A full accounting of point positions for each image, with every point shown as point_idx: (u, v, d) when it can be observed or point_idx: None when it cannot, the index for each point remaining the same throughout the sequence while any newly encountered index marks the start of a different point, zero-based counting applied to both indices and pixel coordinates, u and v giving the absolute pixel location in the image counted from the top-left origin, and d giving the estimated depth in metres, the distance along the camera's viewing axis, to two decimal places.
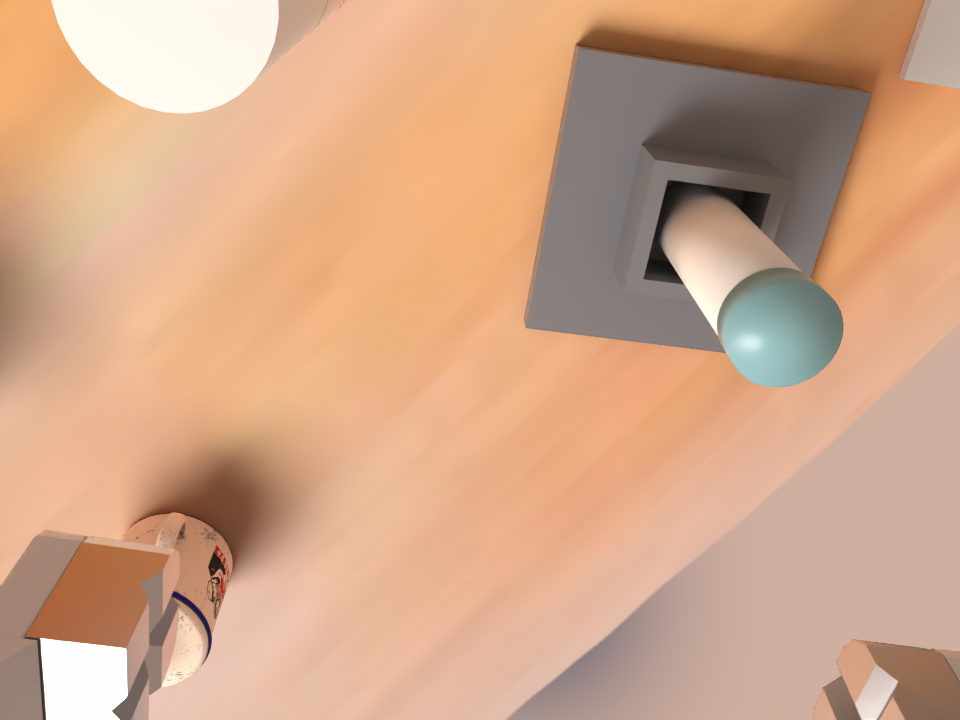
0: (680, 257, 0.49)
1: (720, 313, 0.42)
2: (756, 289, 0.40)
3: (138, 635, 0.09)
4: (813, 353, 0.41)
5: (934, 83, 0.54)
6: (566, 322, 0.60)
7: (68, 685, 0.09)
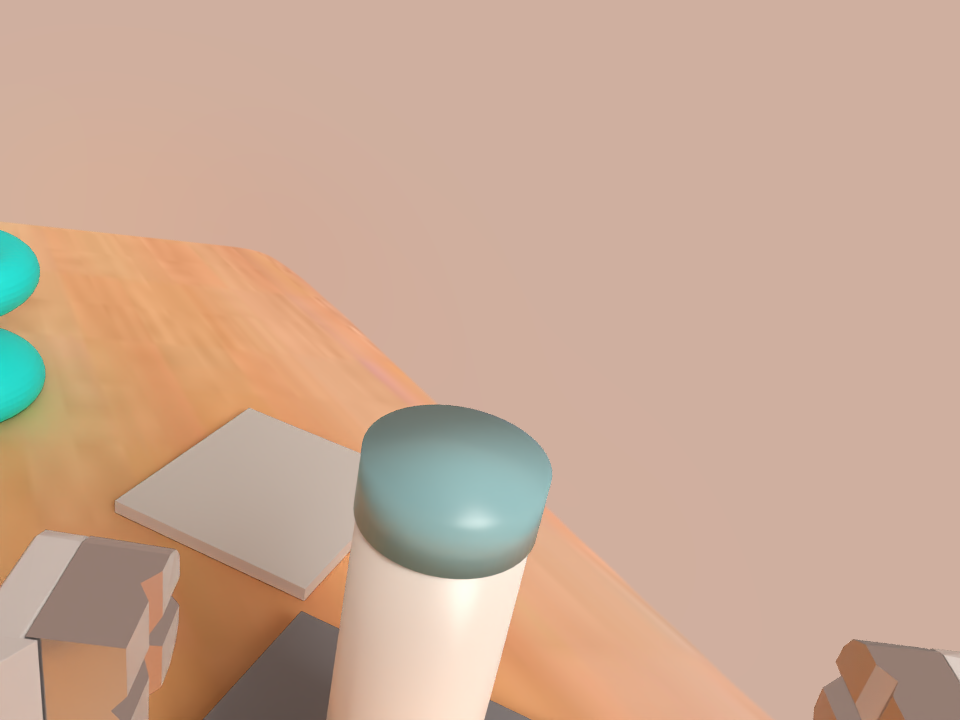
0: None
1: (403, 559, 0.23)
2: (362, 476, 0.23)
3: (138, 635, 0.09)
4: (499, 438, 0.25)
5: (324, 566, 0.46)
6: None
7: (68, 685, 0.09)
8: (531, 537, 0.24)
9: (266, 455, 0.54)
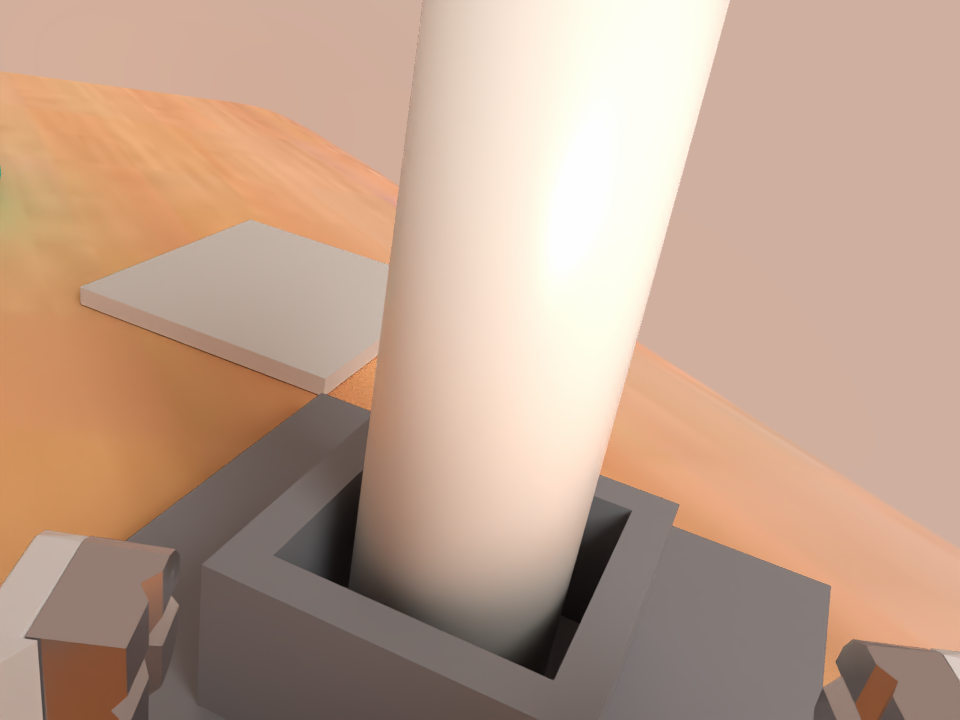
0: (455, 435, 0.16)
1: None
2: None
3: (137, 635, 0.09)
4: None
5: (349, 360, 0.36)
6: None
7: (68, 685, 0.09)
8: None
9: (272, 259, 0.44)
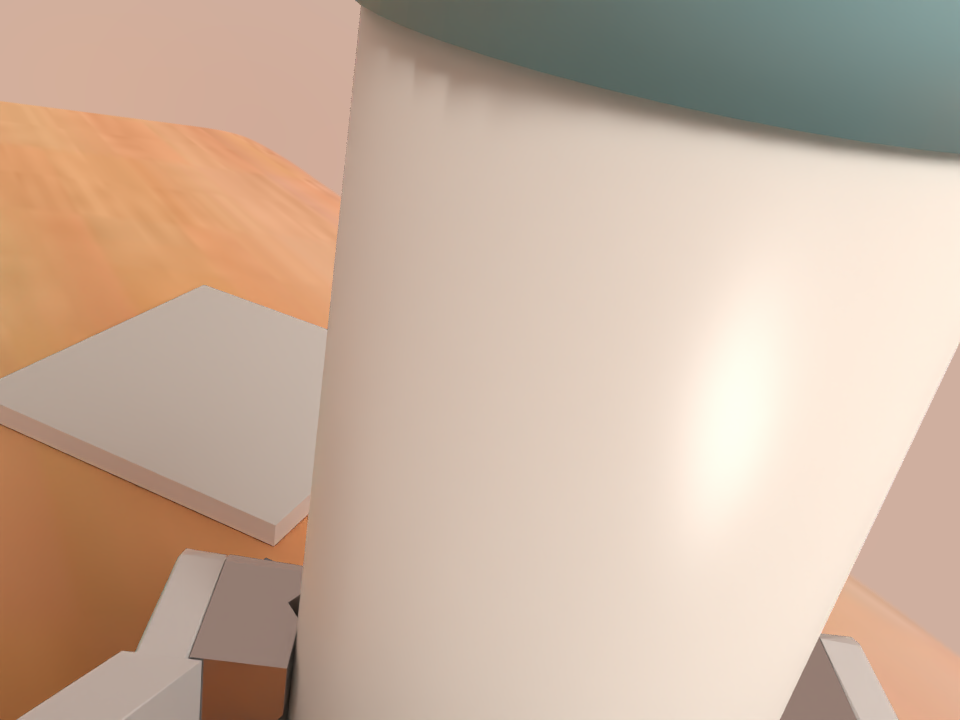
0: None
1: (601, 36, 0.04)
2: None
3: (292, 654, 0.09)
4: None
5: (309, 492, 0.28)
6: None
7: (226, 704, 0.09)
8: None
9: (224, 341, 0.36)
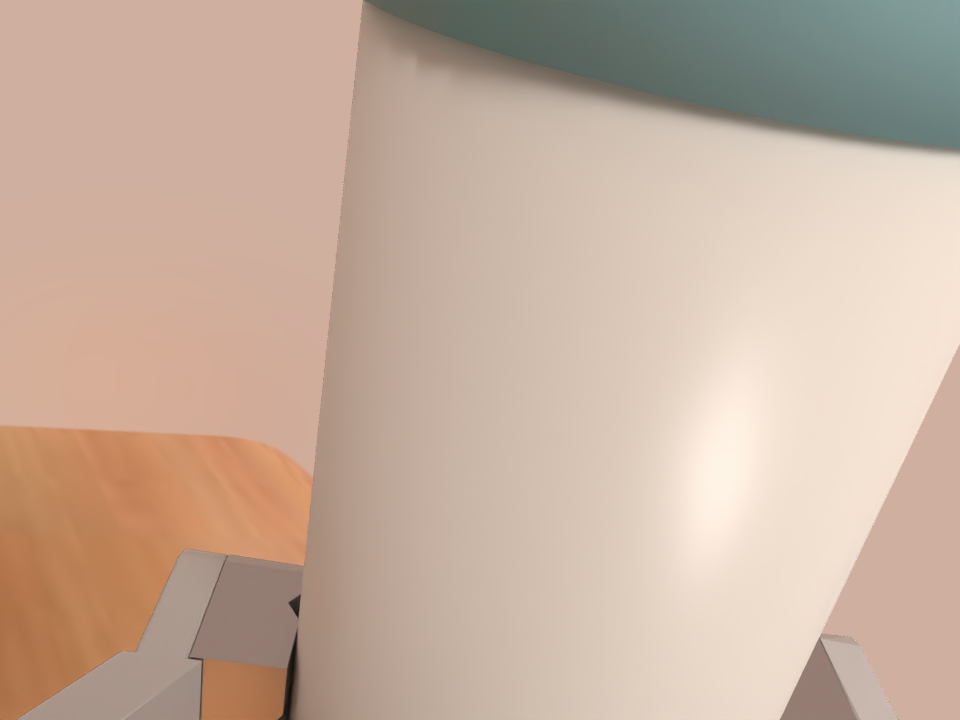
0: None
1: (604, 30, 0.04)
2: None
3: (292, 654, 0.09)
4: None
5: None
6: None
7: (226, 704, 0.09)
8: None
9: None
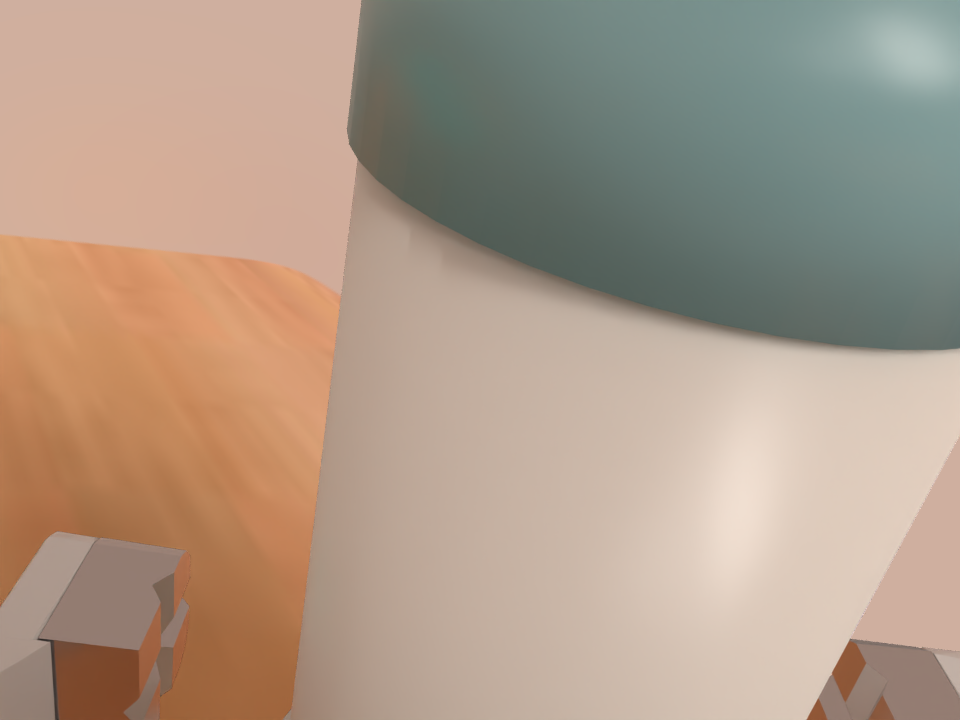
0: None
1: (589, 242, 0.05)
2: None
3: (150, 636, 0.09)
4: None
5: None
6: None
7: (80, 686, 0.09)
8: None
9: None
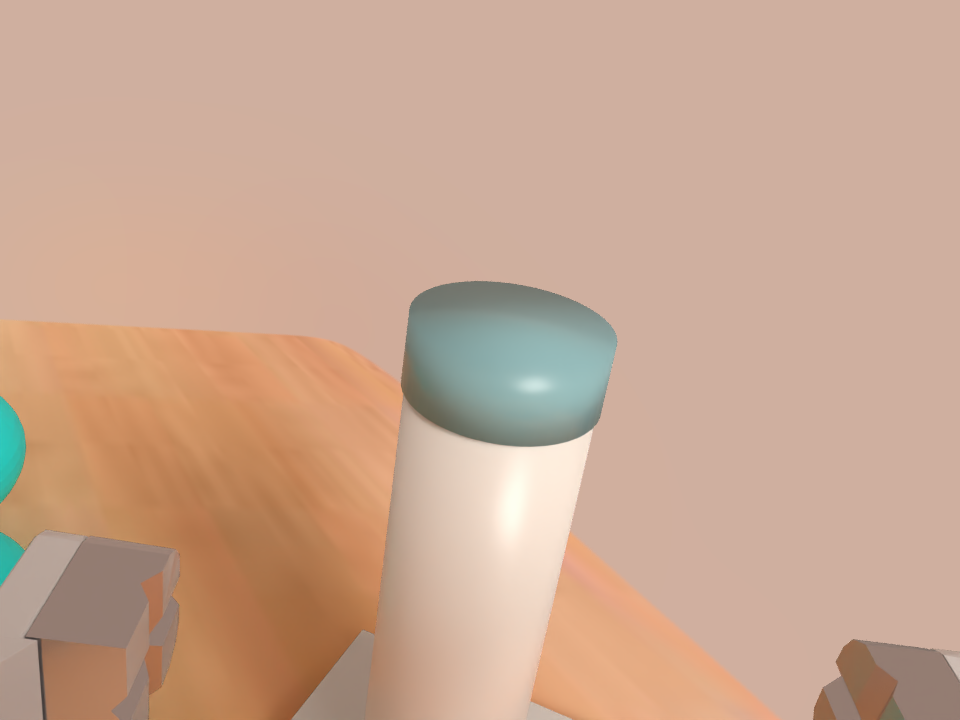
0: (428, 686, 0.24)
1: (460, 425, 0.21)
2: (411, 341, 0.21)
3: (138, 635, 0.09)
4: (556, 309, 0.23)
5: None
6: None
7: (68, 685, 0.09)
8: (597, 405, 0.22)
9: None
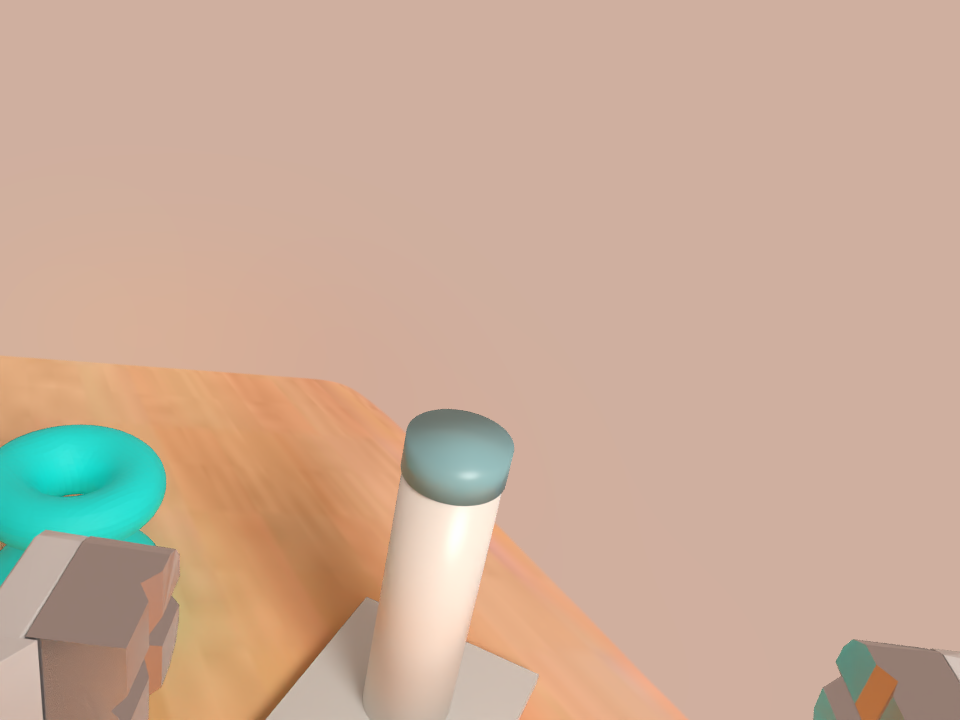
0: (409, 627, 0.45)
1: (430, 494, 0.41)
2: (407, 449, 0.42)
3: (138, 635, 0.09)
4: (484, 429, 0.44)
5: None
6: None
7: (68, 685, 0.09)
8: (502, 484, 0.42)
9: None
